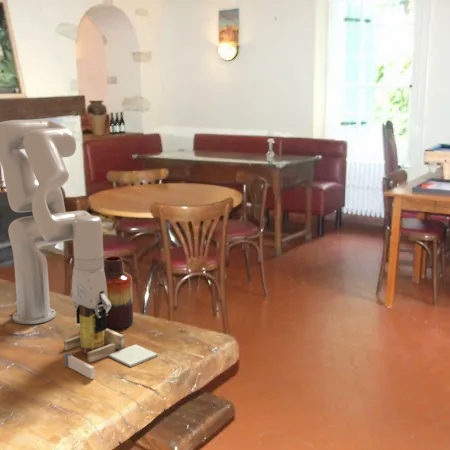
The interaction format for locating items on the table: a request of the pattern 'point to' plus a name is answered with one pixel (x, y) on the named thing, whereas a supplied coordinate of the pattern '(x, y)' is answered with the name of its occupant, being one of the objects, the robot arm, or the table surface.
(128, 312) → the vase
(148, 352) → the tile
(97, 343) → the sauce bottle
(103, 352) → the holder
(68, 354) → the bar
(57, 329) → the table surface
